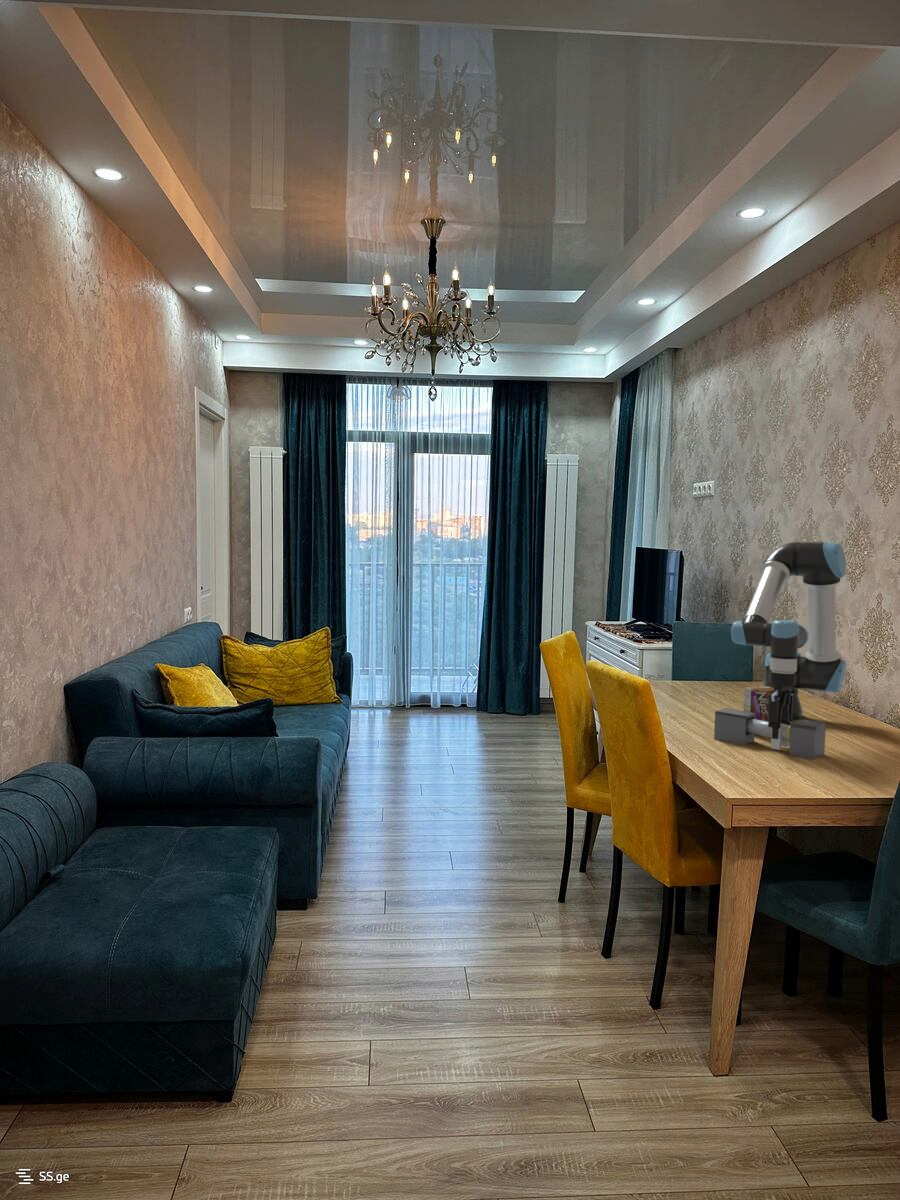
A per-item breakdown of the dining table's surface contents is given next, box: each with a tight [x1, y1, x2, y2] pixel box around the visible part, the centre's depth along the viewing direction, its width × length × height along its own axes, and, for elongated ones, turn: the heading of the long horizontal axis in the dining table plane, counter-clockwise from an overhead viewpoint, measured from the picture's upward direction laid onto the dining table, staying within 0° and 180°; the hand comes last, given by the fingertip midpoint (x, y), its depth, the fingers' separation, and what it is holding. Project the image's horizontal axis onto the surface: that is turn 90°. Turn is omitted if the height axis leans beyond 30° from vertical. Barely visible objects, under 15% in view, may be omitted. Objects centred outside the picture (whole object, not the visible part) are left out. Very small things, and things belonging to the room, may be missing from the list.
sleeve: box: [713, 707, 756, 746], centre depth 251 cm, size 10×7×9 cm
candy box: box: [743, 686, 774, 736], centre depth 261 cm, size 9×4×15 cm, turn 104°
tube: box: [746, 718, 791, 743], centre depth 242 cm, size 20×5×5 cm, turn 45°
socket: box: [788, 718, 827, 760], centre depth 235 cm, size 7×8×10 cm
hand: (779, 747), depth 241 cm, fingers closed on tube, 5 cm apart
